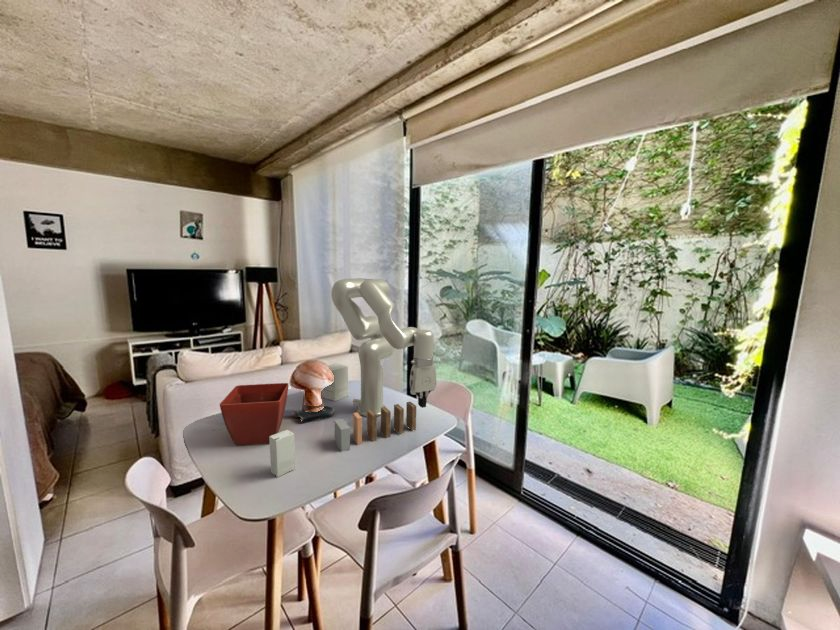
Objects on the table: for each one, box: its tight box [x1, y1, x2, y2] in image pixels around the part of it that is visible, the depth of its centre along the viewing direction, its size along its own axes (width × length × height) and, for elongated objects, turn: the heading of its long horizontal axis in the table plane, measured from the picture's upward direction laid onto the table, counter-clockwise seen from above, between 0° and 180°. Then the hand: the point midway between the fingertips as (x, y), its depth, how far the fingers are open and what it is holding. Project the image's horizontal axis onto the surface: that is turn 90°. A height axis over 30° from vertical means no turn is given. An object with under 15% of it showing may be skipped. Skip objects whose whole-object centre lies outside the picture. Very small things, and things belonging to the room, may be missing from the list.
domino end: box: [352, 411, 363, 446], centre depth 124 cm, size 2×5×10 cm, turn 29°
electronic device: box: [294, 405, 335, 424], centre depth 144 cm, size 9×6×15 cm
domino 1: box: [366, 409, 378, 442], centre depth 127 cm, size 2×5×10 cm, turn 31°
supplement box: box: [321, 362, 349, 402], centre depth 165 cm, size 9×9×15 cm
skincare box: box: [269, 429, 296, 478], centre depth 106 cm, size 6×4×12 cm
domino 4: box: [405, 401, 417, 432], centre depth 135 cm, size 2×5×10 cm, turn 31°
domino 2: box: [380, 407, 391, 439], centre depth 130 cm, size 2×5×10 cm, turn 30°
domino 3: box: [393, 403, 405, 435], centre depth 133 cm, size 2×5×10 cm, turn 30°
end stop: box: [333, 418, 351, 453], centre depth 122 cm, size 3×8×8 cm, turn 30°
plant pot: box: [219, 382, 289, 447], centre depth 126 cm, size 19×19×17 cm
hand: (422, 406), depth 137 cm, fingers closed
